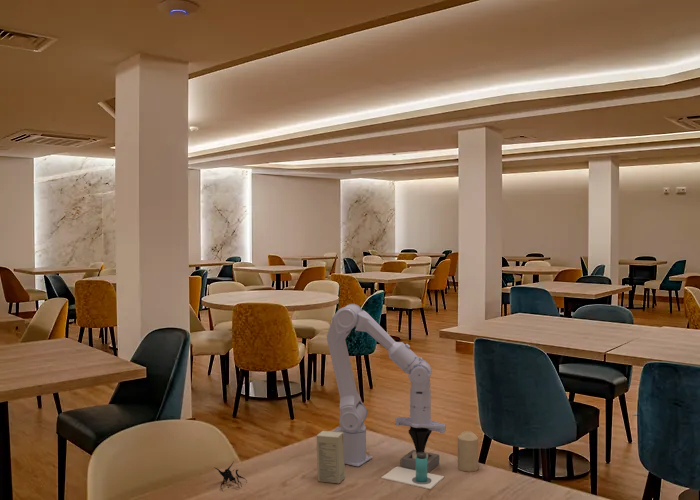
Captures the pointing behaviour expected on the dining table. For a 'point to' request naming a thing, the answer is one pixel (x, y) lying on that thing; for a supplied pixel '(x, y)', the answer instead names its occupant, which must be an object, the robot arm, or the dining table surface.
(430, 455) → the button housing
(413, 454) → the button
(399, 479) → the paper
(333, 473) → the skincare box
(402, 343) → the robot arm
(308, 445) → the dining table surface
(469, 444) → the candle
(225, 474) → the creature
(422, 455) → the bottle
